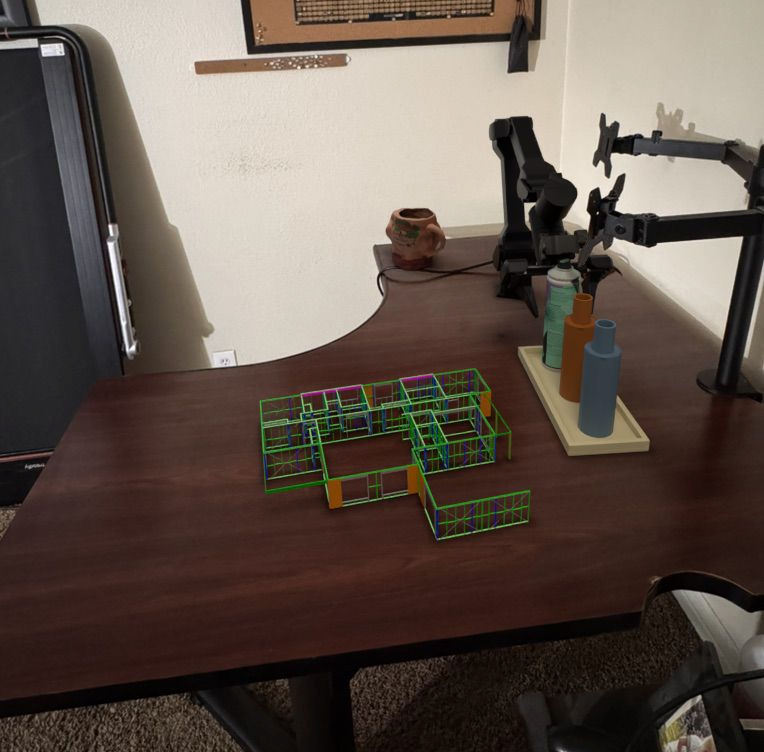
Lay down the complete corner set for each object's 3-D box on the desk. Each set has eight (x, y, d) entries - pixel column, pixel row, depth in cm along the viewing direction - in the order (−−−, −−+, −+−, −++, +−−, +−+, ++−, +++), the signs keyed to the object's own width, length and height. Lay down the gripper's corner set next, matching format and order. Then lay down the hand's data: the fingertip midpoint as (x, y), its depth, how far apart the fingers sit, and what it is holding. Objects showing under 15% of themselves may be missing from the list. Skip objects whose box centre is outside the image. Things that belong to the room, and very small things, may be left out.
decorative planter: (463, 267, 157) (464, 214, 152) (431, 282, 149) (430, 226, 144) (405, 250, 170) (404, 200, 166) (373, 262, 163) (370, 211, 158)
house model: (473, 390, 106) (473, 365, 104) (554, 516, 79) (556, 485, 77) (262, 423, 99) (259, 397, 98) (272, 573, 72) (268, 541, 70)
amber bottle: (559, 386, 106) (566, 289, 99) (590, 390, 104) (600, 291, 98) (558, 403, 101) (565, 302, 95) (590, 407, 100) (600, 305, 94)
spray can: (577, 361, 112) (586, 256, 105) (568, 375, 108) (576, 267, 101) (547, 354, 115) (554, 251, 108) (537, 367, 110) (543, 262, 103)
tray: (517, 355, 116) (518, 346, 115) (579, 351, 116) (580, 343, 116) (568, 456, 89) (569, 445, 89) (648, 451, 90) (650, 440, 89)
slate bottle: (577, 418, 97) (586, 314, 91) (612, 423, 96) (623, 317, 90) (577, 438, 93) (586, 329, 87) (613, 443, 91) (625, 333, 85)
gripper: (505, 215, 105) (519, 303, 99) (615, 209, 106) (636, 296, 99) (493, 243, 115) (505, 325, 109) (594, 238, 116) (612, 319, 109)
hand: (563, 316), depth 106 cm, fingers open, 9 cm apart
